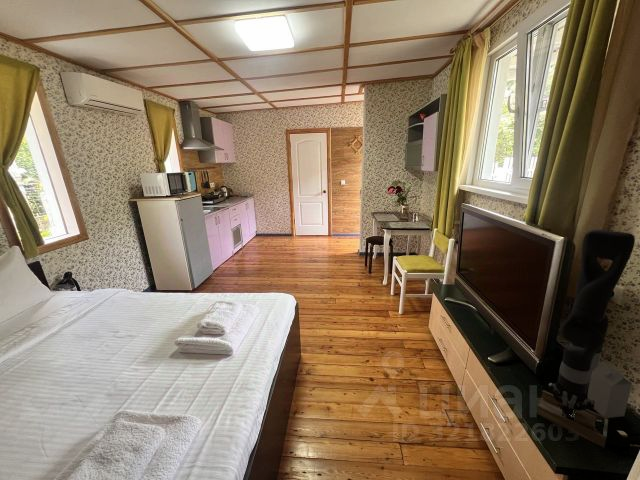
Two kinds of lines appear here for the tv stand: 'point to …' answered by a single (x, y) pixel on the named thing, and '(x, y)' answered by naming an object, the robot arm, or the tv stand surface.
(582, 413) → the walnut block
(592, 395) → the milk carton
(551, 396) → the wooden tray
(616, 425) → the tv stand surface
